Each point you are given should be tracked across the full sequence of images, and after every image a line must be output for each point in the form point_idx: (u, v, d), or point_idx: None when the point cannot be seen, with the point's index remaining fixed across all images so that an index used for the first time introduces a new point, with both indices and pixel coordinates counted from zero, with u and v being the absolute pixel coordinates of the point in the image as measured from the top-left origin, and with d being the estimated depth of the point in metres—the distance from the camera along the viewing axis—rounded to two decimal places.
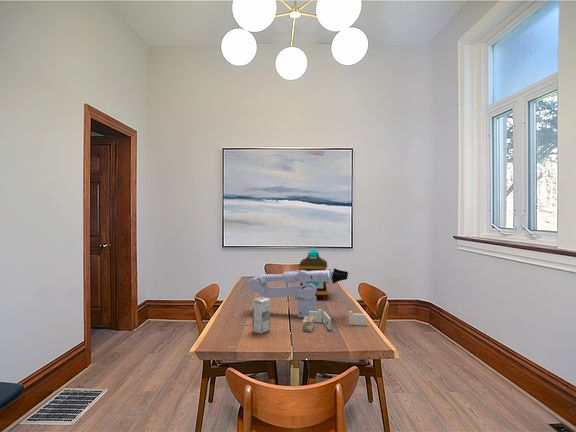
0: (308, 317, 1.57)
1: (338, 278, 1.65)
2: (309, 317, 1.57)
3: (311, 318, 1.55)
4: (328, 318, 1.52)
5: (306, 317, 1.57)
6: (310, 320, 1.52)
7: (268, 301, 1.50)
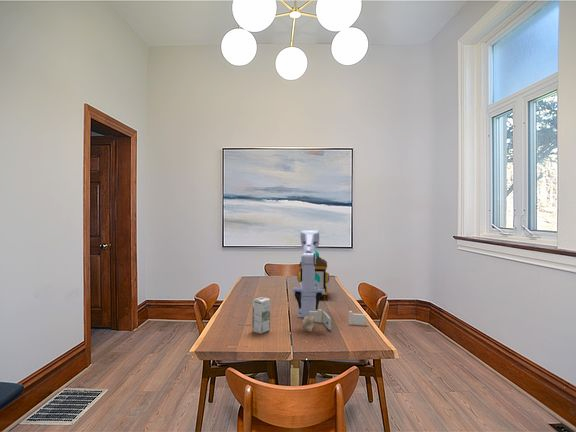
0: (308, 317, 1.57)
1: None
2: (309, 317, 1.56)
3: (311, 318, 1.55)
4: (328, 318, 1.52)
5: (306, 317, 1.56)
6: (310, 320, 1.52)
7: (268, 301, 1.50)
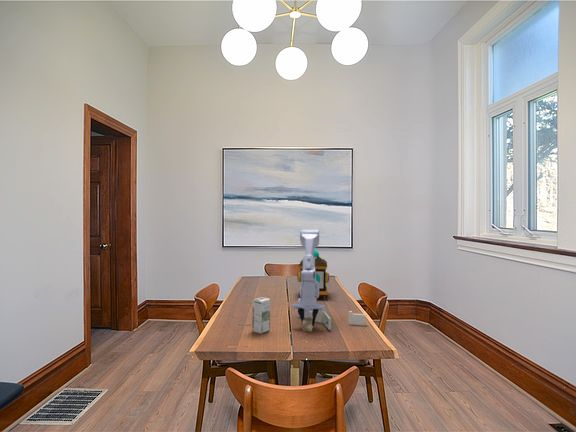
0: (308, 317, 1.57)
1: None
2: (309, 317, 1.56)
3: (311, 318, 1.55)
4: (328, 318, 1.52)
5: (306, 317, 1.56)
6: (310, 320, 1.52)
7: (268, 301, 1.50)
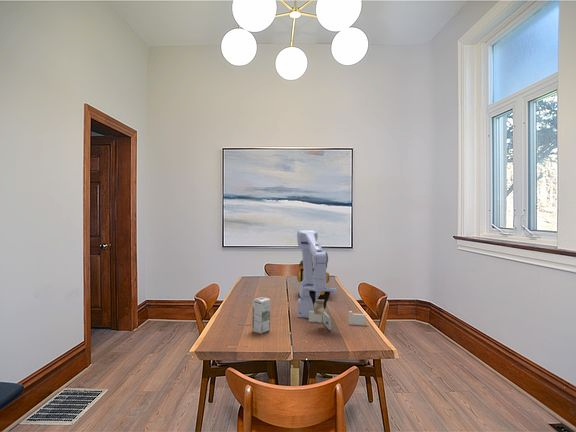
0: (320, 300, 1.56)
1: None
2: (320, 300, 1.56)
3: (322, 301, 1.54)
4: (328, 318, 1.52)
5: (317, 300, 1.56)
6: (321, 303, 1.52)
7: (268, 301, 1.50)
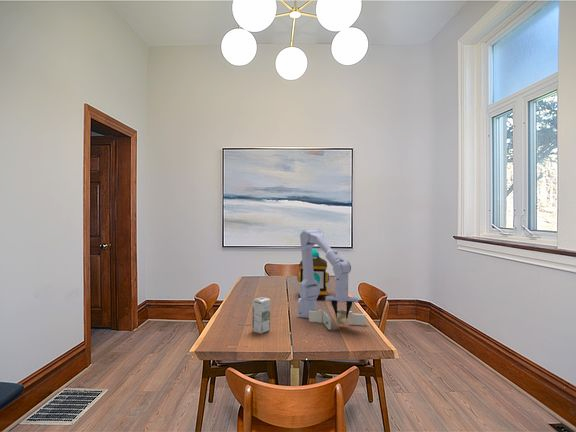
0: (341, 310, 1.56)
1: None
2: (342, 310, 1.56)
3: (344, 311, 1.54)
4: (328, 318, 1.52)
5: (339, 310, 1.56)
6: (344, 313, 1.51)
7: (268, 301, 1.50)
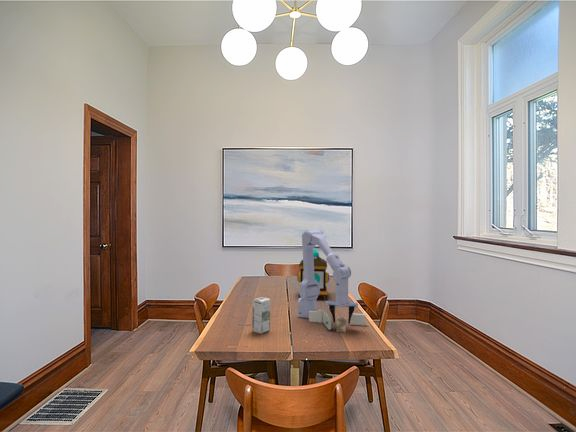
0: (341, 318, 1.56)
1: None
2: (342, 318, 1.56)
3: (344, 319, 1.54)
4: (328, 318, 1.52)
5: (339, 318, 1.56)
6: (344, 321, 1.51)
7: (268, 301, 1.50)
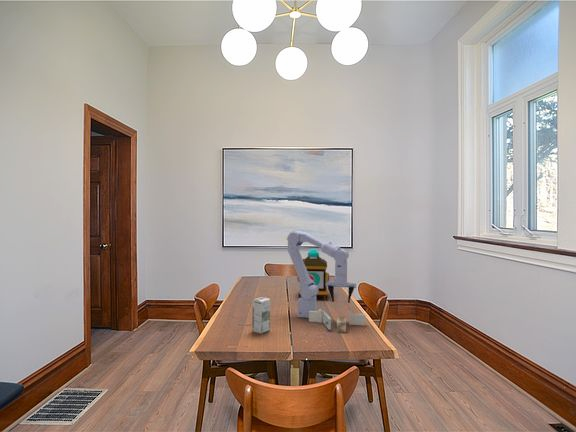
0: (341, 318, 1.56)
1: None
2: (342, 318, 1.56)
3: (344, 319, 1.54)
4: (328, 318, 1.52)
5: (339, 318, 1.56)
6: (344, 321, 1.52)
7: (268, 301, 1.50)
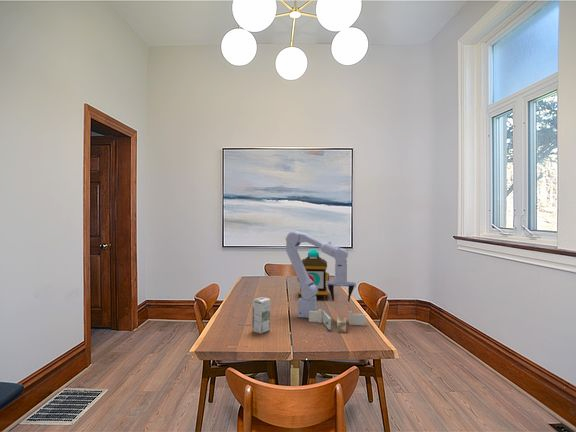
0: (341, 318, 1.56)
1: None
2: (342, 318, 1.56)
3: (344, 319, 1.54)
4: (328, 318, 1.52)
5: (339, 318, 1.56)
6: (344, 321, 1.52)
7: (268, 301, 1.50)
